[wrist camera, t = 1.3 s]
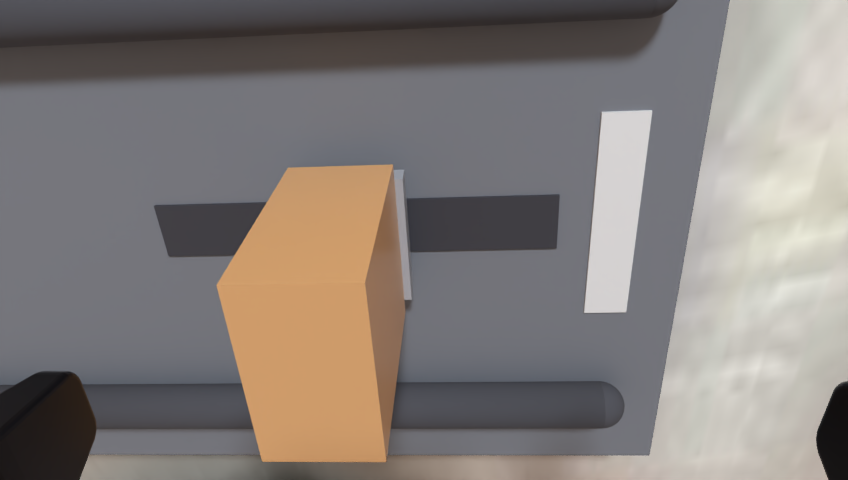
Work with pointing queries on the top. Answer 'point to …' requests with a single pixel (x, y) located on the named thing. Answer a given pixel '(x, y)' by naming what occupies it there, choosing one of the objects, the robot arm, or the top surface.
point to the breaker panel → (350, 146)
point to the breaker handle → (322, 312)
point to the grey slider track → (308, 14)
